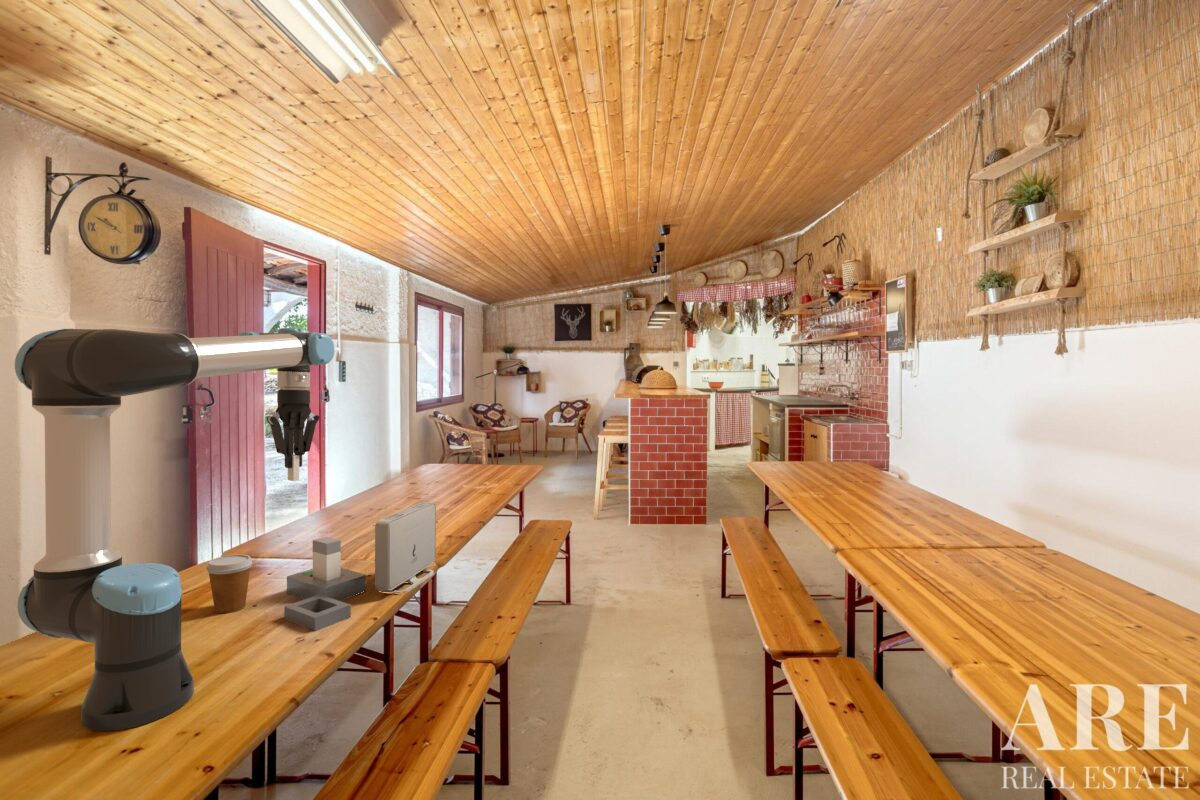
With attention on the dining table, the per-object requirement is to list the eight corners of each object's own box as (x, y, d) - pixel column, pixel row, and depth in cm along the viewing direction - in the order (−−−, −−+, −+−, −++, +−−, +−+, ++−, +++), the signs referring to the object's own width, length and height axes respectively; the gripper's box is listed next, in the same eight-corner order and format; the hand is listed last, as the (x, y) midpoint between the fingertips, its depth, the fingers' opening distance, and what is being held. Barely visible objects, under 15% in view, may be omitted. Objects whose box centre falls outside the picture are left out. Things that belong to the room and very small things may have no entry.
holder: (315, 631, 129) (315, 617, 129) (284, 618, 135) (284, 606, 135) (350, 617, 137) (350, 604, 137) (319, 606, 143) (319, 594, 143)
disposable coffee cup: (258, 608, 141) (258, 559, 141) (212, 619, 134) (212, 568, 134) (246, 597, 148) (245, 551, 147) (202, 608, 141) (201, 559, 140)
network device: (395, 600, 148) (396, 523, 147) (365, 597, 149) (365, 520, 149) (442, 568, 173) (443, 502, 172) (415, 566, 174) (416, 500, 174)
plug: (326, 597, 149) (326, 543, 148) (312, 592, 152) (312, 540, 151) (340, 592, 152) (340, 540, 152) (326, 587, 155) (326, 536, 155)
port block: (324, 606, 143) (324, 587, 143) (286, 593, 151) (286, 575, 151) (365, 591, 153) (365, 573, 153) (328, 579, 161) (328, 563, 161)
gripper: (276, 389, 141) (275, 485, 141) (326, 389, 152) (325, 478, 152) (260, 388, 145) (259, 481, 145) (310, 388, 156) (309, 475, 156)
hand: (293, 480), depth 149 cm, fingers closed
